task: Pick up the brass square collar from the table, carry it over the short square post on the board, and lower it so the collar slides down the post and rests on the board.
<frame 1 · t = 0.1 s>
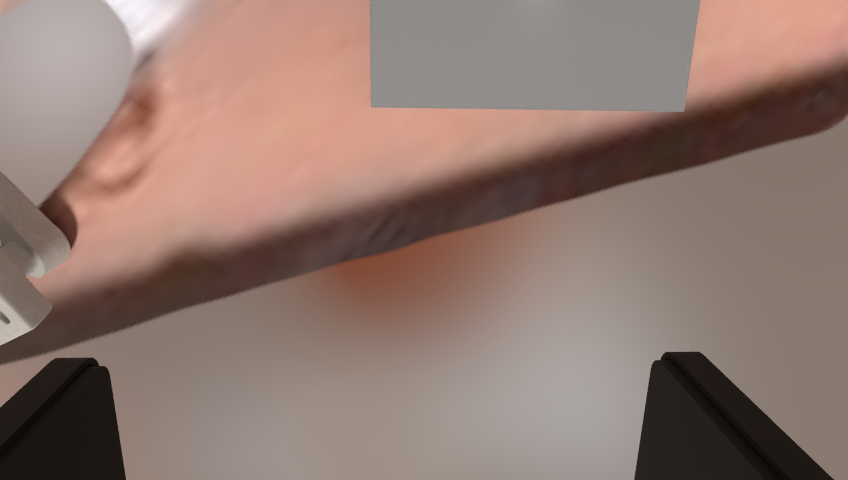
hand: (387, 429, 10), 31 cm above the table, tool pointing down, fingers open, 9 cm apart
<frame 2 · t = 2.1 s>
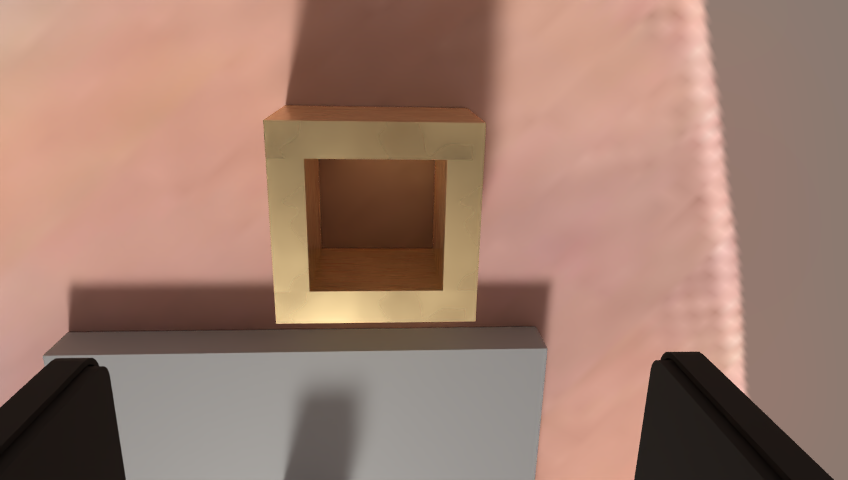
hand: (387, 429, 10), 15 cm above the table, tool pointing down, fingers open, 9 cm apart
collar: (377, 194, 24), on the table
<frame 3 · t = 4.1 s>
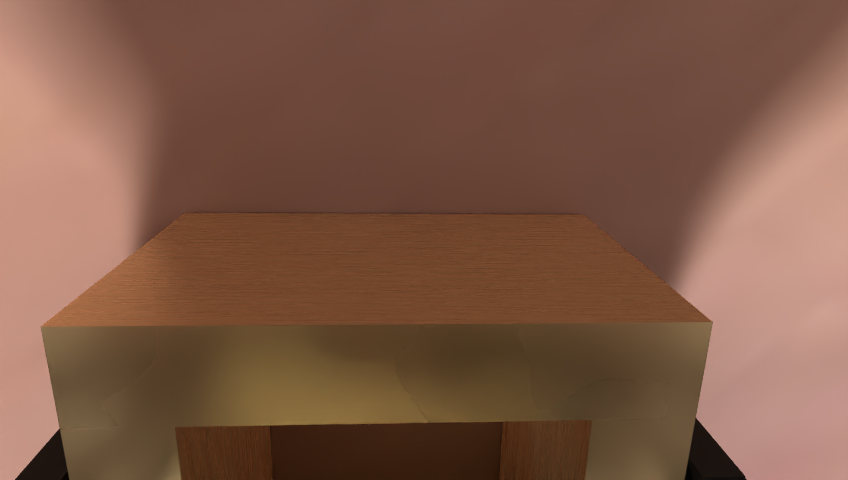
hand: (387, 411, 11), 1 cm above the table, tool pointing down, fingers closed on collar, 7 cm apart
collar: (387, 388, 12), on the table, touching gripper
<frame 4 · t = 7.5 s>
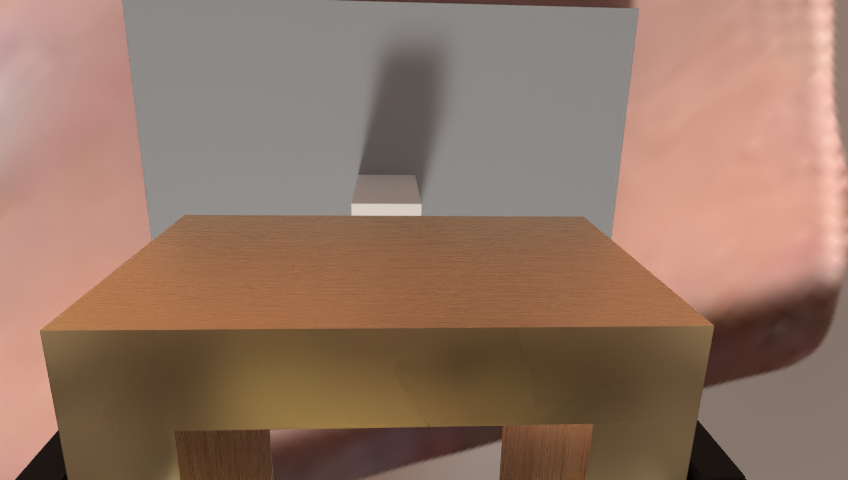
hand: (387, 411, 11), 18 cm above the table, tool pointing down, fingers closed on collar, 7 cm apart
post stand: (386, 191, 27), on the table
collar: (387, 390, 12), point 17 cm above the table, touching gripper
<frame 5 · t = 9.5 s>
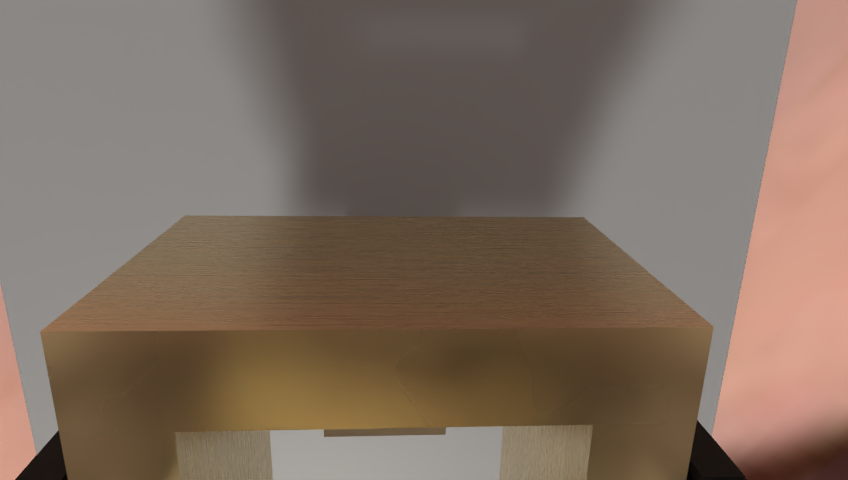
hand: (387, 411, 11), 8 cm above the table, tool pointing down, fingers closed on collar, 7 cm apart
post stand: (385, 259, 18), on the table
collar: (387, 391, 12), point 7 cm above the table, touching gripper
when the fingers open (5 cm above the table, at t = 11.0 s): collar drops 2 cm, resting on post stand.
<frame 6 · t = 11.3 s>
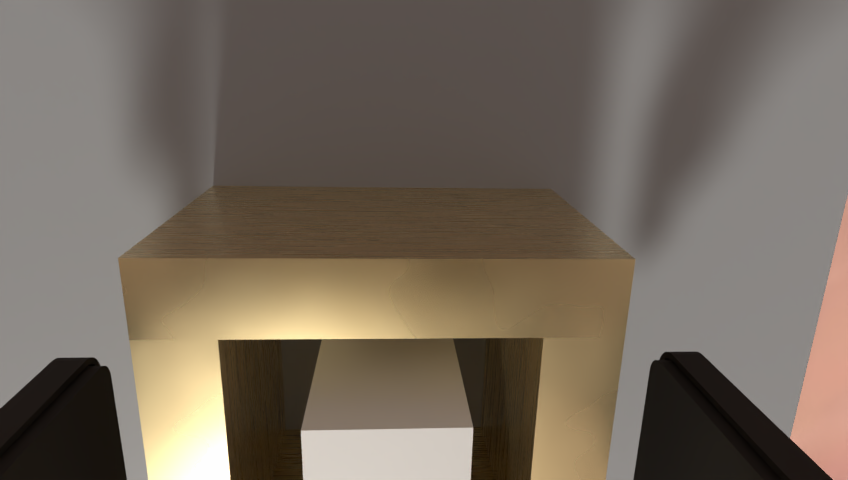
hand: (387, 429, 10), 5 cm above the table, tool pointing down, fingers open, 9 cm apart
post stand: (387, 305, 15), on the table
collar: (384, 340, 13), point 2 cm above the table, touching post stand
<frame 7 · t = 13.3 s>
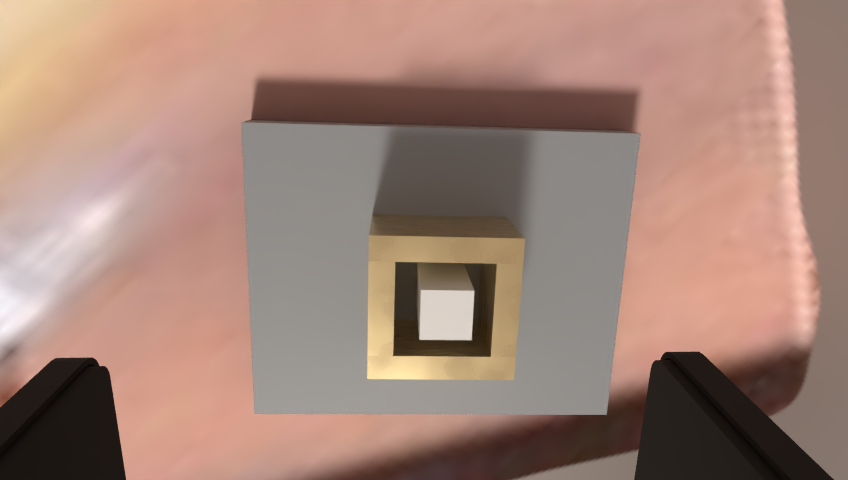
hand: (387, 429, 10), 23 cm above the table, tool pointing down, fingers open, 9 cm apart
post stand: (436, 268, 34), on the table
collar: (437, 279, 32), point 2 cm above the table, touching post stand
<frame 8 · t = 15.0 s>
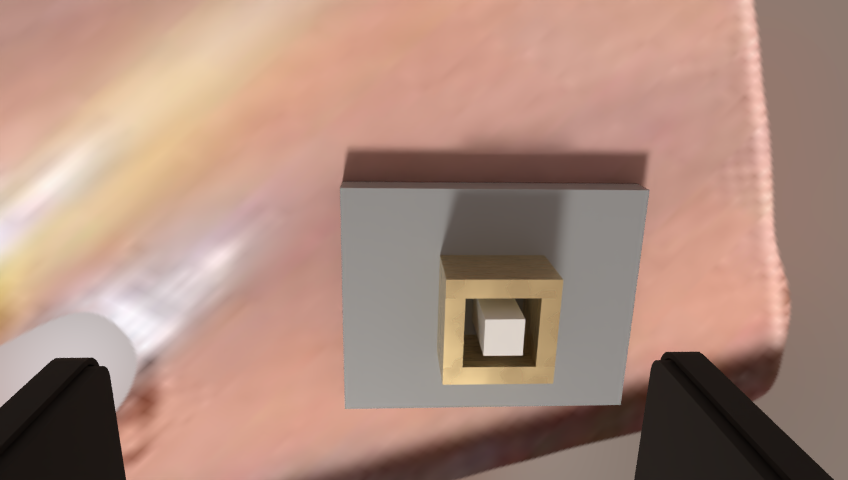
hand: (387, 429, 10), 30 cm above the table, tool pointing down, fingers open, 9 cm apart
post stand: (486, 293, 43), on the table
collar: (489, 303, 41), point 2 cm above the table, touching post stand
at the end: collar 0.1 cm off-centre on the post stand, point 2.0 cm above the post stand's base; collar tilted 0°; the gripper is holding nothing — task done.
